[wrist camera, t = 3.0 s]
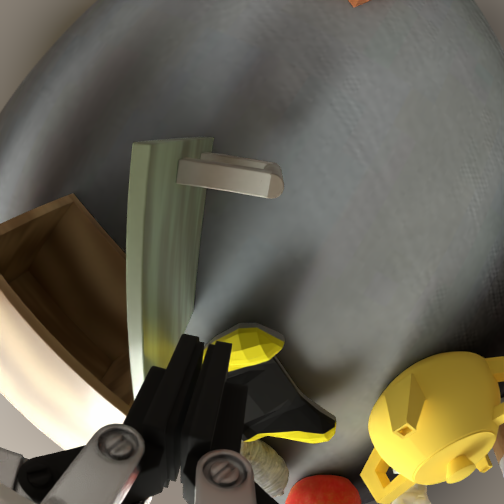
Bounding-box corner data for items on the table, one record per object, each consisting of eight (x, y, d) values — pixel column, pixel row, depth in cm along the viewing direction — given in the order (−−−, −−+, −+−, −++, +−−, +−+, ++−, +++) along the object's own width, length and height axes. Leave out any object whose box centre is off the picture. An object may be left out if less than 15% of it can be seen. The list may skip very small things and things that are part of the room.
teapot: (504, 324, 26) (561, 392, 15) (466, 422, 32) (494, 486, 21) (368, 350, 28) (401, 452, 17) (353, 448, 34) (364, 527, 22)
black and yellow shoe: (272, 293, 26) (176, 336, 29) (271, 331, 21) (158, 374, 24) (338, 402, 30) (255, 429, 33) (344, 441, 25) (251, 467, 28)
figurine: (368, 462, 35) (380, 534, 24) (397, 444, 33) (416, 517, 22) (406, 475, 37) (420, 535, 25) (432, 458, 35) (451, 519, 24)
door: (284, 148, 22) (294, 164, 11) (251, 323, 27) (235, 438, 16) (203, 136, 22) (131, 141, 11) (184, 310, 27) (135, 415, 16)
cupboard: (73, 192, 24) (-34, 240, 13) (184, 314, 28) (134, 422, 16) (25, 265, 28) (-56, 324, 16) (118, 364, 31) (67, 452, 19)
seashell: (256, 496, 35) (254, 531, 27) (216, 421, 36) (206, 452, 28) (299, 483, 35) (306, 518, 27) (264, 406, 36) (264, 436, 28)
